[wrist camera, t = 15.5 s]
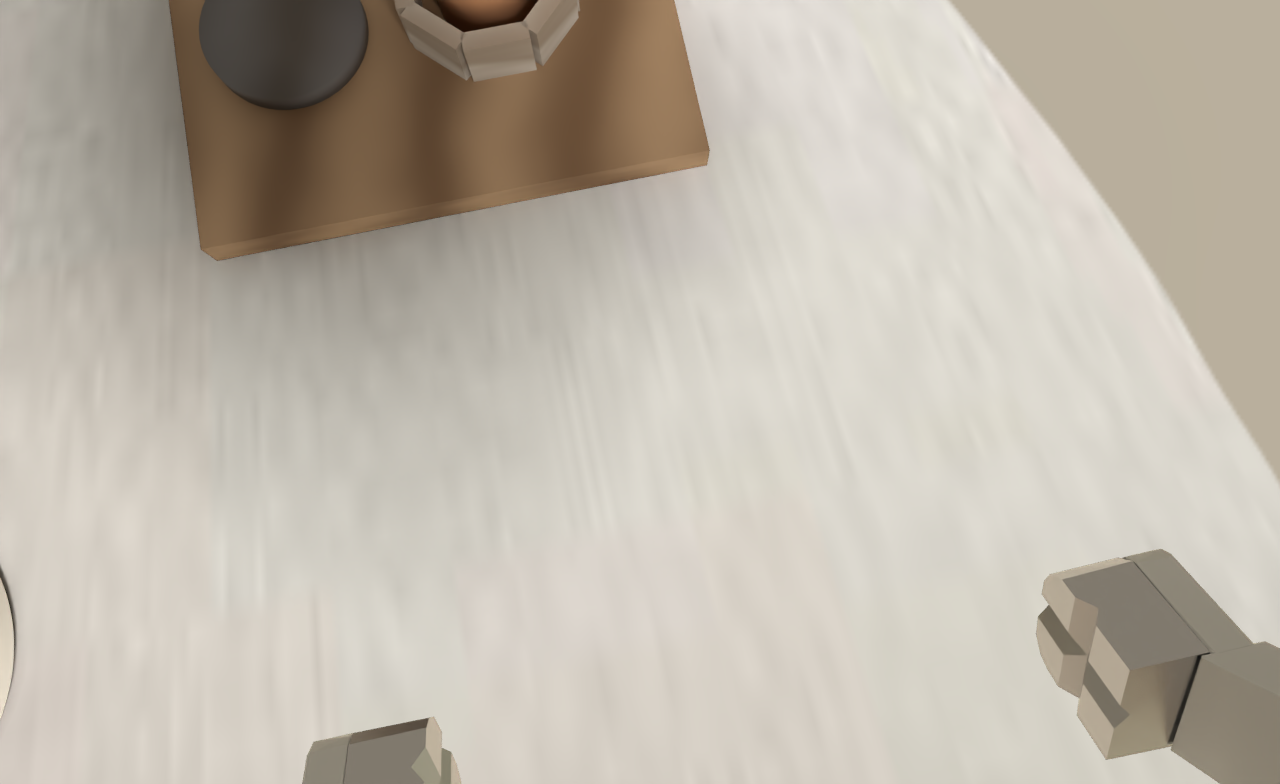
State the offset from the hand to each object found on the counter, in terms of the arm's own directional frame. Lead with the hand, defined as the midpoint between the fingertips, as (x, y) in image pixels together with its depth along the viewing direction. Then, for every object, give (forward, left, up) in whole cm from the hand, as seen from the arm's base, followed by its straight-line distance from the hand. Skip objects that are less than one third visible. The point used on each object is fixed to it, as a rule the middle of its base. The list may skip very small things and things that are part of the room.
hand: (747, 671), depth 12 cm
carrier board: (-6, +27, -26) cm, 38 cm away
